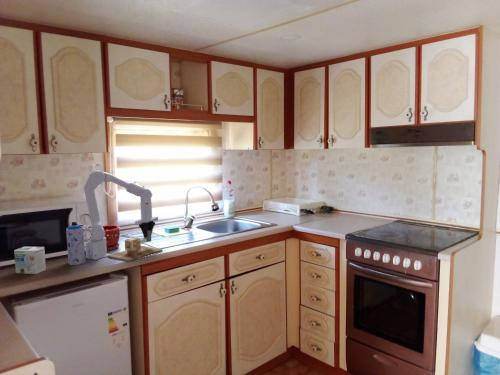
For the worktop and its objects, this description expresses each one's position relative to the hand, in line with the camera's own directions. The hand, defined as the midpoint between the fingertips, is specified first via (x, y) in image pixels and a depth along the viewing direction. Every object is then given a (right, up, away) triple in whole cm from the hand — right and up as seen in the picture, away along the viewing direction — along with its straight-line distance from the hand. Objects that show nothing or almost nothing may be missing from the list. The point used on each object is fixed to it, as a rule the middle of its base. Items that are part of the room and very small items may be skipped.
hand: (147, 236), depth 210 cm
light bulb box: (-45, -13, -31) cm, 56 cm away
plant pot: (-23, -8, +6) cm, 25 cm away
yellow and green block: (-3, -4, -5) cm, 7 cm away
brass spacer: (-7, -6, -10) cm, 13 cm away
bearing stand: (-5, -9, -6) cm, 12 cm away
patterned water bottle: (-30, -11, -18) cm, 37 cm away
